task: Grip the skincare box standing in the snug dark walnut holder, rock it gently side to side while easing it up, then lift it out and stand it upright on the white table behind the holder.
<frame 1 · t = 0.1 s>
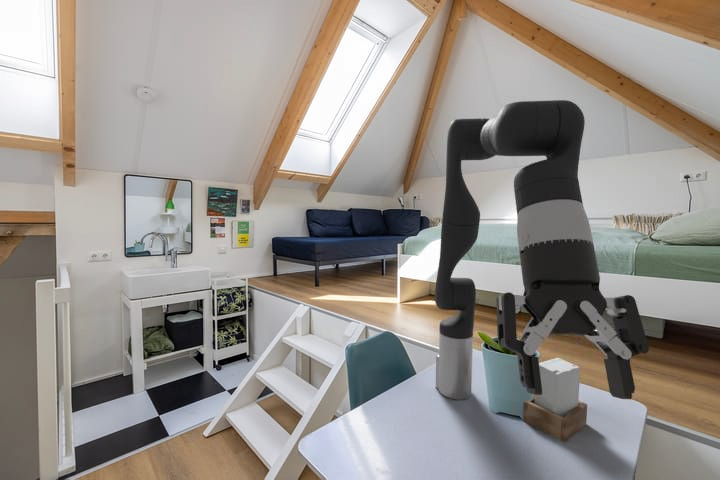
hand: (577, 395, 32), 31 cm above the table, tool tilted 20°, fingers open, 8 cm apart
walnut holder: (554, 422, 77), on the table
skincare box: (555, 423, 77), resting in walnut holder
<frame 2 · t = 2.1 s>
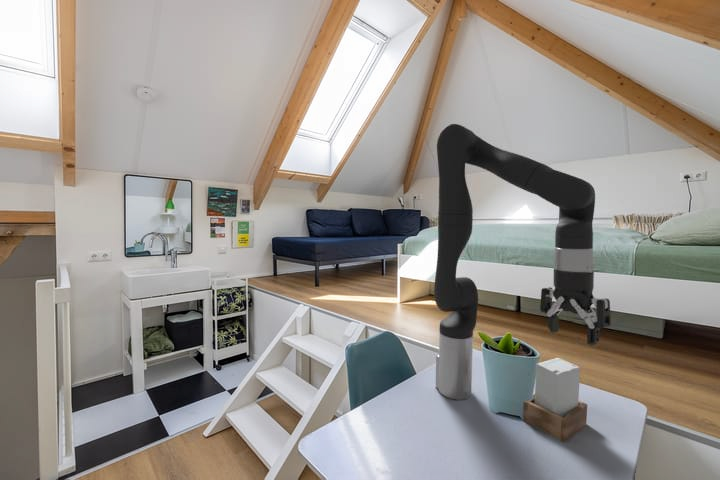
hand: (572, 337, 72), 23 cm above the table, tool pointing down, fingers open, 8 cm apart
nothing on the table moved.
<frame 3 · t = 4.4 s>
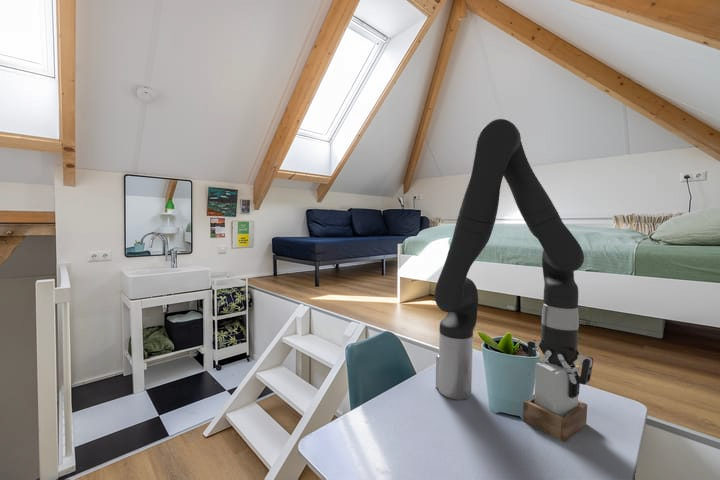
hand: (556, 390, 76), 8 cm above the table, tool pointing down, fingers closed on skincare box, 6 cm apart
skincare box: (555, 423, 77), resting in walnut holder, touching gripper
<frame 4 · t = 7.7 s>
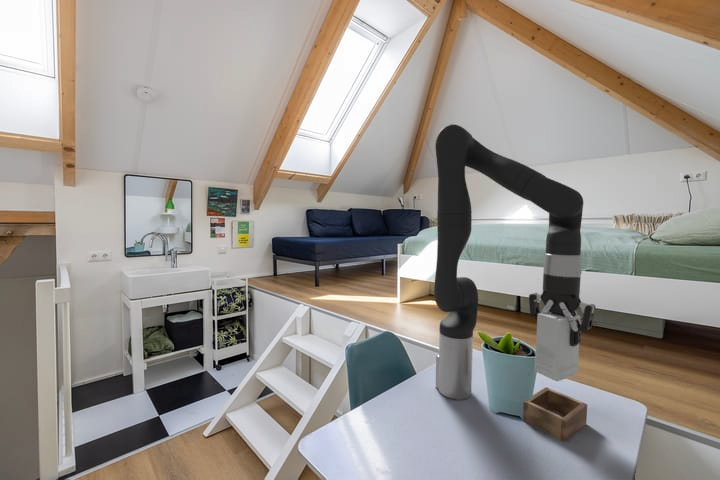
hand: (558, 340, 76), 21 cm above the table, tool pointing down, fingers closed on skincare box, 6 cm apart
skincare box: (555, 375, 76), point 12 cm above the table, touching gripper
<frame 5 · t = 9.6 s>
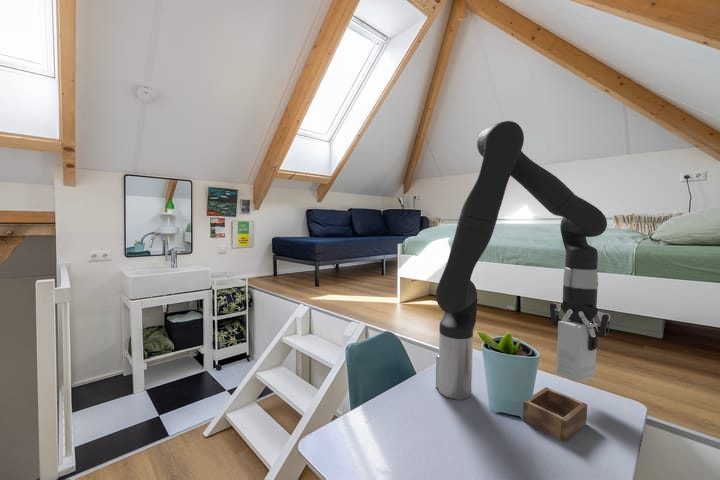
hand: (577, 345, 84), 16 cm above the table, tool pointing down, fingers closed on skincare box, 6 cm apart
skincare box: (575, 376, 85), point 7 cm above the table, touching gripper
when the fingers open (9 cm above the table, at t = 11.4 s): skincare box stays where it is, on the table.
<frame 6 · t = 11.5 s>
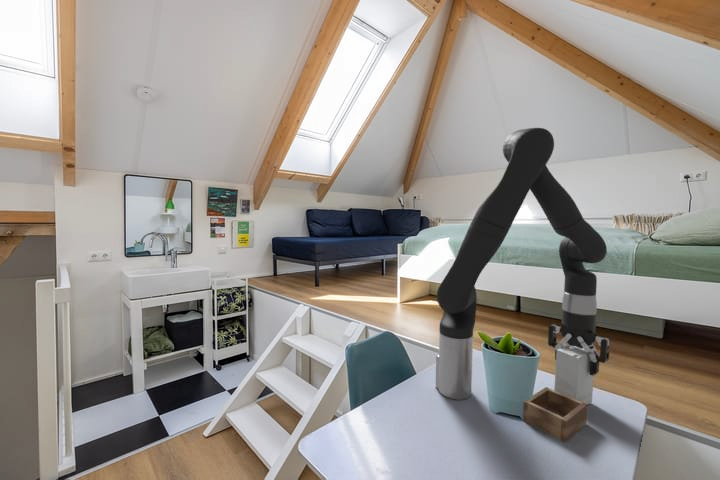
hand: (575, 368, 85), 9 cm above the table, tool pointing down, fingers open, 7 cm apart
skincare box: (572, 403, 85), on the table
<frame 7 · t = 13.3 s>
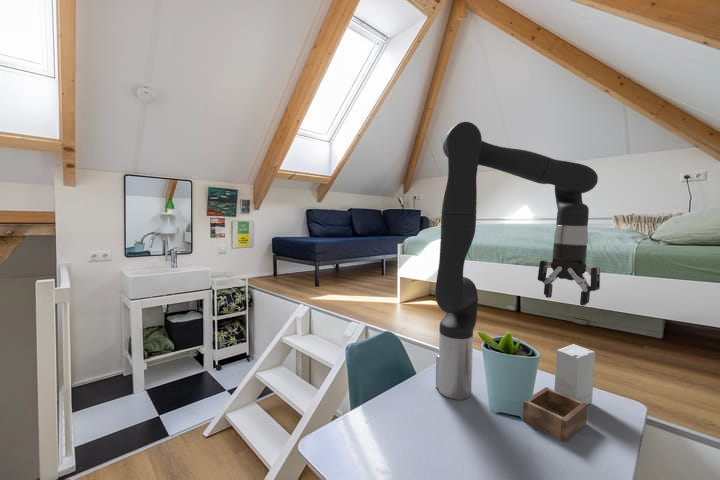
hand: (565, 301, 86), 28 cm above the table, tool pointing down, fingers open, 8 cm apart
nothing on the table moved.
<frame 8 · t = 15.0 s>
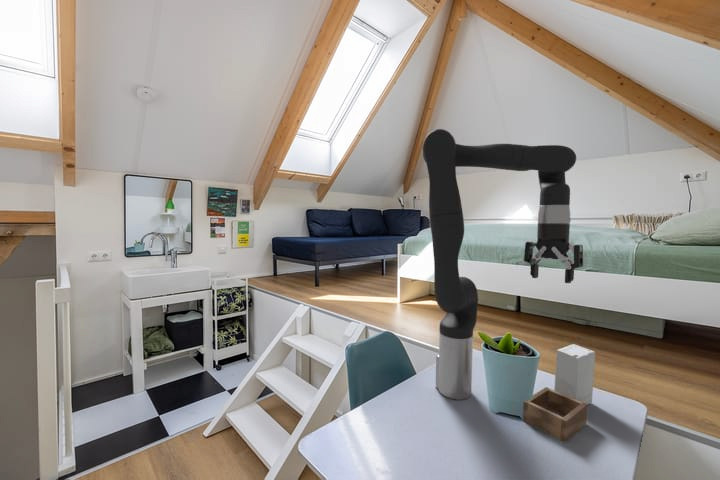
hand: (550, 280, 87), 33 cm above the table, tool pointing down, fingers open, 8 cm apart
nothing on the table moved.
at the end: skincare box inside the target area (0.9 cm from its centre), on the table; skincare box tilted 0°; the gripper is holding nothing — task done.
